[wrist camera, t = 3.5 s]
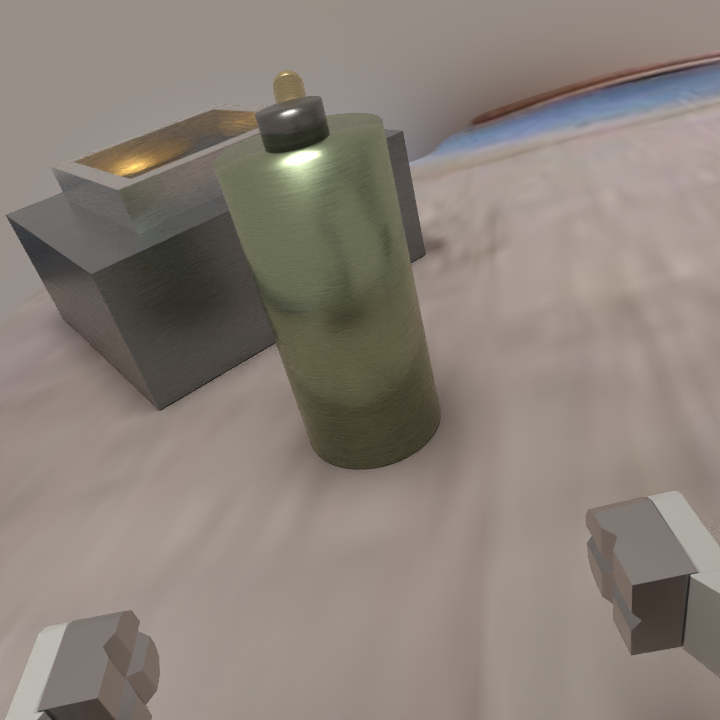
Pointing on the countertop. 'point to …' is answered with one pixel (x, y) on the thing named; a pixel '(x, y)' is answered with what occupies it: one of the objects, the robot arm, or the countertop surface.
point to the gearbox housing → (163, 251)
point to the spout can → (334, 276)
